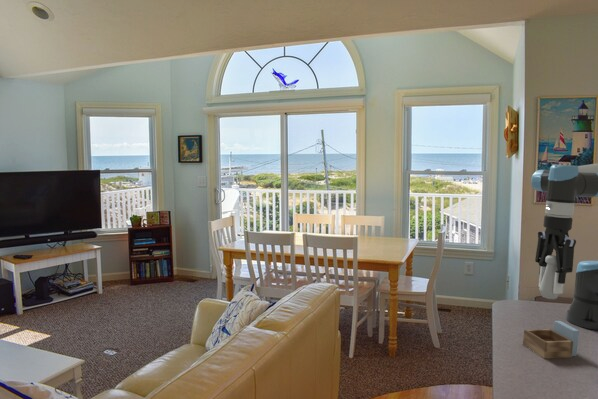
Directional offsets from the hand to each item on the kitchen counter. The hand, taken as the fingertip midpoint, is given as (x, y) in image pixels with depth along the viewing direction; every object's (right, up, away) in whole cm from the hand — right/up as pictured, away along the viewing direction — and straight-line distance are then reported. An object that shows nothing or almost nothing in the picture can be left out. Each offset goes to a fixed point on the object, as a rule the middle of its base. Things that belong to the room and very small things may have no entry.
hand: (550, 289), depth 141 cm
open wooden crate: (-1, -19, +1) cm, 19 cm away
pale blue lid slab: (+5, -19, +2) cm, 20 cm away
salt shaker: (0, -3, 0) cm, 3 cm away
